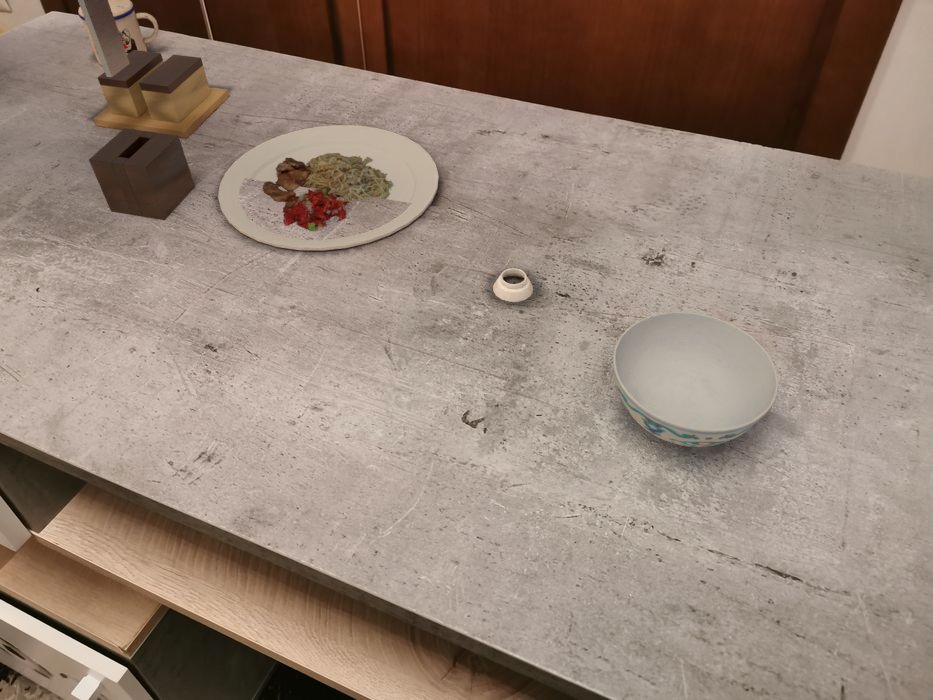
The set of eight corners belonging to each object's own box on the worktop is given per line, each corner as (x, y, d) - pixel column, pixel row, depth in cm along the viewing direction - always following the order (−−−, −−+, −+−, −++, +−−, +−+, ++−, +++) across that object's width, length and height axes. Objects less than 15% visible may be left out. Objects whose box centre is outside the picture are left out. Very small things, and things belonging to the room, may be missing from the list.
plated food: (414, 124, 114) (412, 104, 112) (462, 237, 94) (462, 216, 92) (218, 152, 109) (212, 131, 106) (225, 278, 89) (218, 256, 86)
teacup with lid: (95, 72, 127) (68, 3, 119) (98, 51, 133) (73, -16, 125) (166, 64, 129) (145, -5, 121) (166, 43, 135) (146, -24, 127)
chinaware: (621, 348, 80) (632, 296, 74) (762, 385, 76) (785, 333, 71) (586, 452, 70) (596, 401, 65) (745, 501, 67) (770, 451, 61)
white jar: (491, 281, 88) (491, 309, 85) (491, 262, 86) (492, 290, 82) (532, 281, 88) (534, 309, 84) (534, 262, 86) (536, 290, 82)
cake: (95, 125, 114) (77, 82, 109) (144, 85, 124) (129, 43, 119) (186, 138, 112) (172, 94, 106) (229, 96, 121) (218, 53, 116)
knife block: (113, 218, 97) (88, 159, 91) (146, 185, 103) (124, 127, 96) (167, 227, 96) (145, 168, 89) (197, 193, 101) (178, 135, 95)
